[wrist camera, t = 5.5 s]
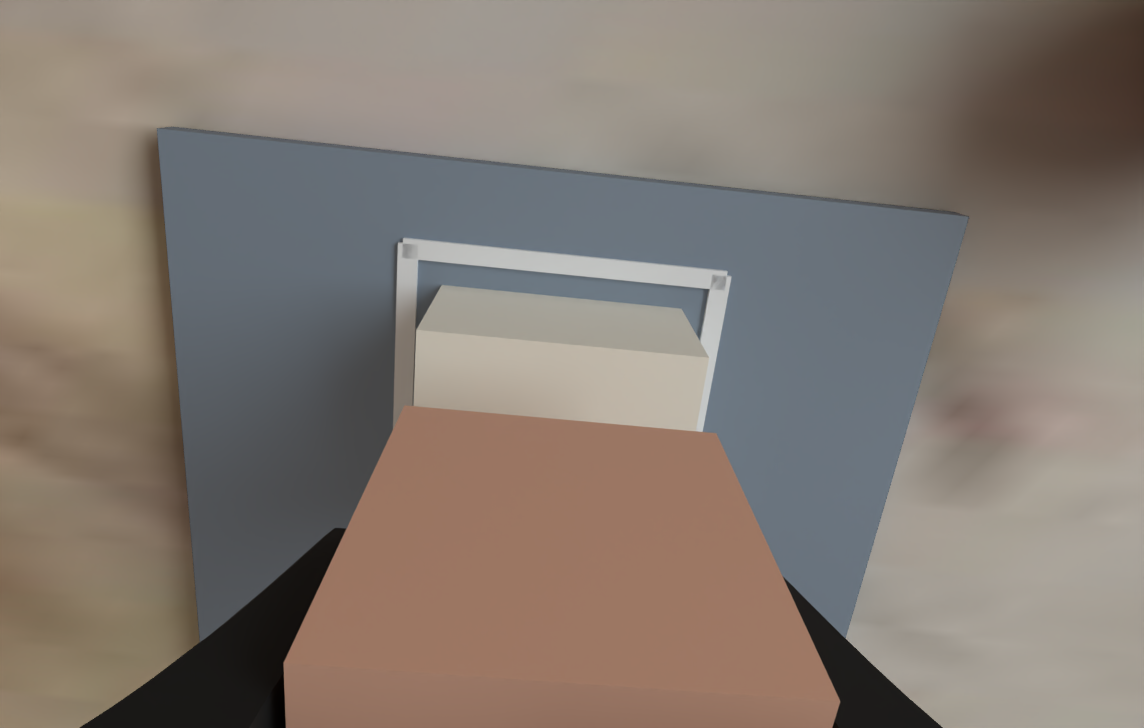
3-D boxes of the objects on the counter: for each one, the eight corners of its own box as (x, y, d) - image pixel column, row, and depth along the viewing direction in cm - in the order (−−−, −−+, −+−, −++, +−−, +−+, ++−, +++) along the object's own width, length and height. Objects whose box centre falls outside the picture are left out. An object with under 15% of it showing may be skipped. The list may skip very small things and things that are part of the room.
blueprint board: (765, 872, 22) (802, 1011, 19) (227, 843, 22) (166, 983, 18) (954, 212, 16) (1064, 247, 12) (172, 126, 15) (57, 139, 11)
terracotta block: (668, 675, 12) (738, 1035, 8) (396, 656, 12) (296, 1019, 7) (716, 432, 11) (840, 700, 6) (404, 405, 10) (283, 664, 6)
